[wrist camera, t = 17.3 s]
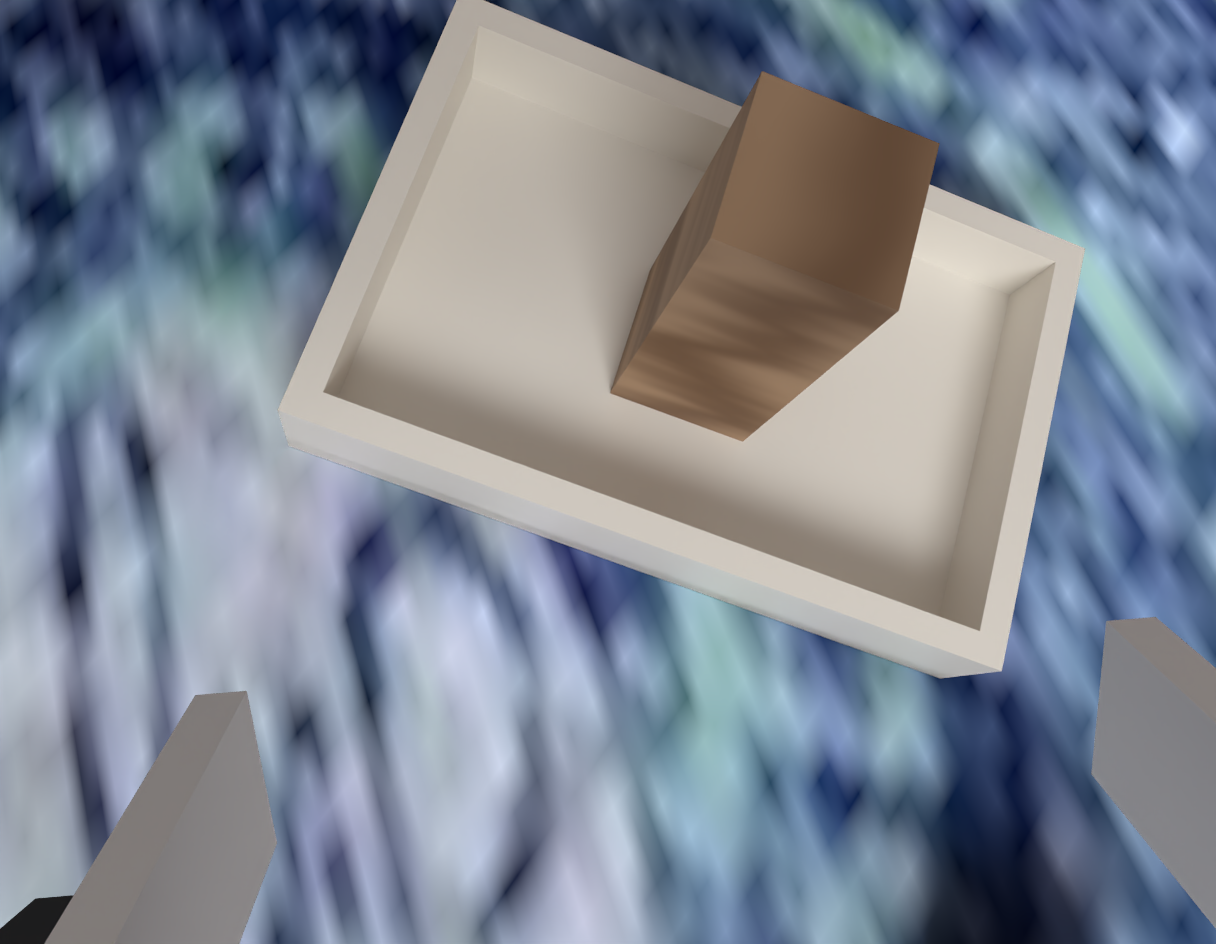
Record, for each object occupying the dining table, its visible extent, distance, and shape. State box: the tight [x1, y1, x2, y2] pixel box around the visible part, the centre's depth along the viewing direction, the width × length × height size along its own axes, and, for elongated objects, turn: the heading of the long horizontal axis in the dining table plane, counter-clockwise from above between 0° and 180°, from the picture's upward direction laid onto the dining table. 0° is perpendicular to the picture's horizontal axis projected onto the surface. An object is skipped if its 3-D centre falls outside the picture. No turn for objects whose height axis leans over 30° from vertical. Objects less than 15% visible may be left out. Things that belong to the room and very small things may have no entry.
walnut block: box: [610, 71, 939, 442], centre depth 32 cm, size 5×5×12 cm
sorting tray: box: [278, 0, 1085, 678], centre depth 37 cm, size 24×16×4 cm, turn 72°
